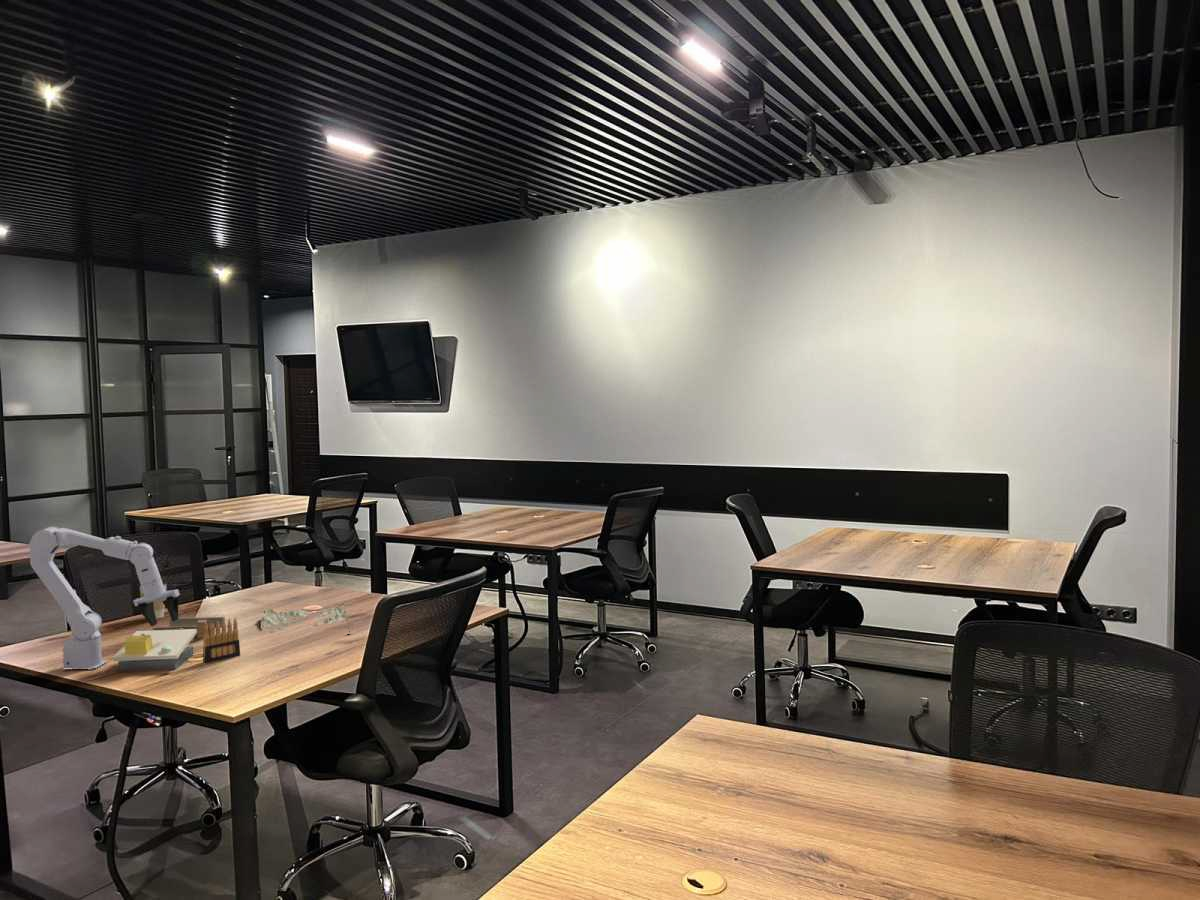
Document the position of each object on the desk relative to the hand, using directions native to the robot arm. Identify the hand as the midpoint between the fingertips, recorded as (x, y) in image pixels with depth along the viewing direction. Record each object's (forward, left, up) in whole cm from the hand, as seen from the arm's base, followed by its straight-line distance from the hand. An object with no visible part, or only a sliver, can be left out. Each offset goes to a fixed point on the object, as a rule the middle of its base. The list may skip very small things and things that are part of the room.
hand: (165, 622), depth 257 cm
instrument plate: (-1, -5, -6) cm, 8 cm away
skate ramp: (-6, +27, -12) cm, 30 cm away
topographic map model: (+33, +35, -12) cm, 50 cm away
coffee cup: (-27, +56, -12) cm, 63 cm away
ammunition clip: (+17, -2, -12) cm, 21 cm away
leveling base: (-1, -5, -11) cm, 12 cm away
